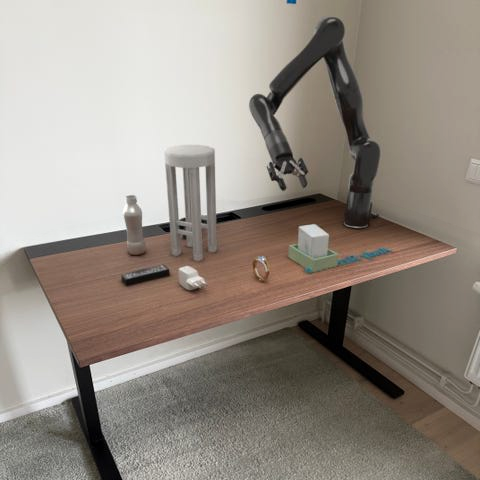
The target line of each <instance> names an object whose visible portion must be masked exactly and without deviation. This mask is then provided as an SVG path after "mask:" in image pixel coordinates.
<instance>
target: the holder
mask: <svg viewBox="0 0 480 480" xmlns="http://www.w3.org/2000/svg"><path fill="white" fill-rule="evenodd" d="M287 254H288V256H287V257H288V258H289V259H291V260H292V261H294V262H295V263H297V264H299V265H300V266H302V267H304V268H305V269H306V268H309V269H311V270H313V272H312V273H315V272H320V271H324V270H323V268H325V270H329V269H332V267H333V266H334V267H333V268H337V267H338V266H339V264H338V260H339V257H340V254H339V253H338V252H336V251H334V250H332V249H330V248H328V252H327V256H325V257H321V258H316V259H313V258H312V257H310V256H308V255H307V254H305V253H303V252H302V251H300V250H298V243H294V244H289V245H288V253H287ZM337 265H338V266H337ZM336 266H337V267H336ZM329 267H330V268H329ZM328 268H329V269H328ZM318 269H319V271H317V270H318Z"/></svg>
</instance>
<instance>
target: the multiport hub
mask: <svg viewBox="0 0 480 480" xmlns="http://www.w3.org/2000/svg"><path fill="white" fill-rule="evenodd" d="M167 277H170V268H169V267H167V265H165V264H159V265H156V266H151V267H147V268H143V269H139V270H134V271H133V270H132V271H129V272H125V273H122V274H121V277H120V278H121V282H122V283H123V284H124V285H125V286H126V287H130V286H135V285H138V284H141V283H142V284H143V283H146V282H150V281H155V280H158V279H163V278H167Z"/></svg>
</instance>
